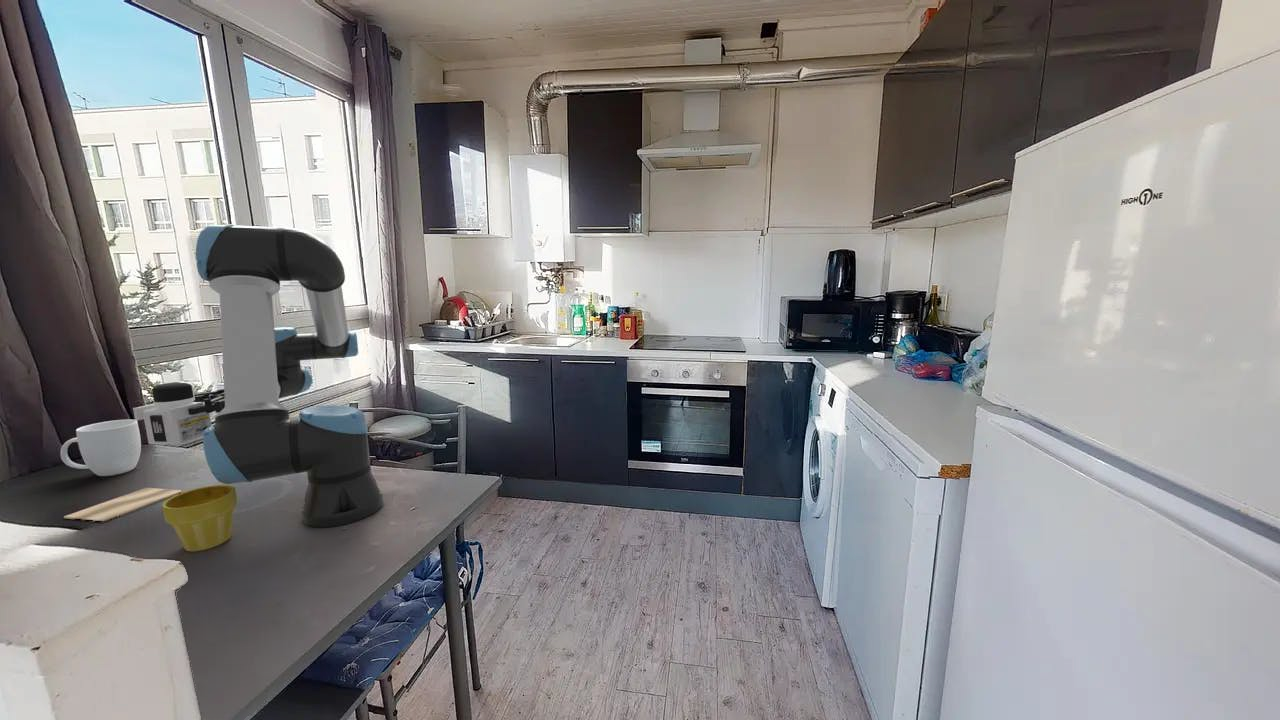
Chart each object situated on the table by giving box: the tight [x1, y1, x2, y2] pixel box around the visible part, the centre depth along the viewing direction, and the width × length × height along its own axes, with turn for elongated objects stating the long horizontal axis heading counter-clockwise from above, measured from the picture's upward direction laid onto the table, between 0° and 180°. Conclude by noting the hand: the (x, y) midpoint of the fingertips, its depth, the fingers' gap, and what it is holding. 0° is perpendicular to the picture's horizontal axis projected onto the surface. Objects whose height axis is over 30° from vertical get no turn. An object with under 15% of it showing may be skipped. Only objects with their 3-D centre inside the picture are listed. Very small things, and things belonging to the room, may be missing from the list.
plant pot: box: [161, 484, 238, 553], centre depth 91 cm, size 10×10×10 cm
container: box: [143, 381, 213, 445], centre depth 107 cm, size 8×8×13 cm
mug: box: [59, 419, 142, 477], centre depth 126 cm, size 15×11×13 cm
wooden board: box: [63, 487, 184, 523], centre depth 108 cm, size 11×15×1 cm
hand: (152, 415), depth 102 cm, fingers closed on container, 8 cm apart
